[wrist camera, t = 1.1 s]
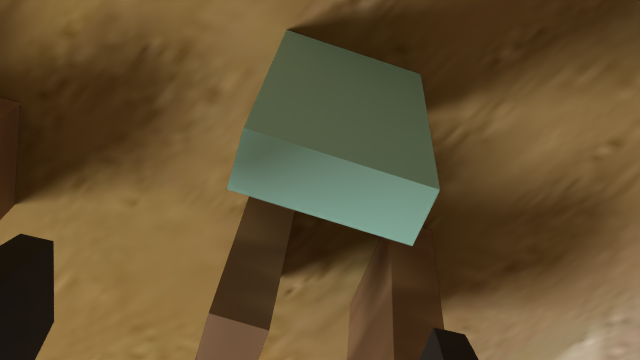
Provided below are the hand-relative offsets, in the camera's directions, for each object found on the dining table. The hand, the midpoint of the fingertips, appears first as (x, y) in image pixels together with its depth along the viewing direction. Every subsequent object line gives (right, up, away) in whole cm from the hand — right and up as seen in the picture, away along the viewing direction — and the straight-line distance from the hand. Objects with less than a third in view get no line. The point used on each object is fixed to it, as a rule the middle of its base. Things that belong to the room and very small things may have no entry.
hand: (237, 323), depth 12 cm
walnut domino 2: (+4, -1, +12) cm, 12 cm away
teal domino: (+2, +6, +8) cm, 10 cm away
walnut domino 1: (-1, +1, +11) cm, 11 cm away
